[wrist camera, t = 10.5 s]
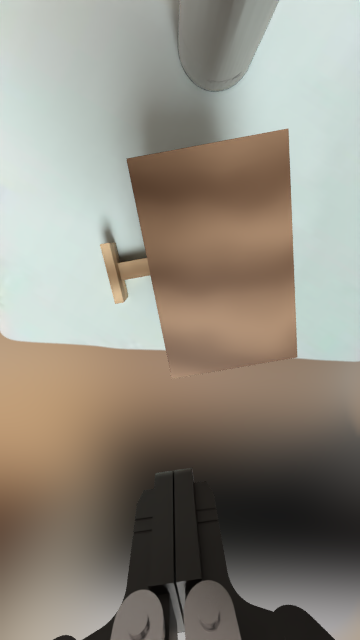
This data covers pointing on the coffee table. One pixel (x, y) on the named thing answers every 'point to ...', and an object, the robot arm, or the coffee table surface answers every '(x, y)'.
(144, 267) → the drawer
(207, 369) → the wooden arch frame
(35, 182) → the coffee table surface
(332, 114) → the coffee table surface
